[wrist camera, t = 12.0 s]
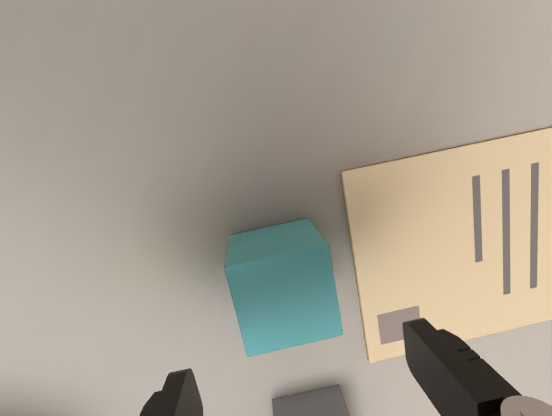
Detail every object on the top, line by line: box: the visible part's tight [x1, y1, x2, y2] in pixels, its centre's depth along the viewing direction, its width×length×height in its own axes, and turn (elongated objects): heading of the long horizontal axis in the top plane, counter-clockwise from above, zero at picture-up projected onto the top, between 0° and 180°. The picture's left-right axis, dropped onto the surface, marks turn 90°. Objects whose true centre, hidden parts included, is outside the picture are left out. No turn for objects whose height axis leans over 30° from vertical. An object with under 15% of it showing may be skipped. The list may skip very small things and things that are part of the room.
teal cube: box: [224, 218, 343, 357], centre depth 17 cm, size 5×5×5 cm
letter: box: [341, 127, 552, 363], centre depth 20 cm, size 14×18×1 cm
